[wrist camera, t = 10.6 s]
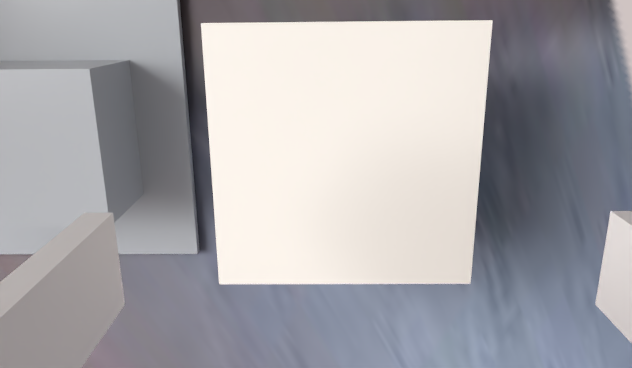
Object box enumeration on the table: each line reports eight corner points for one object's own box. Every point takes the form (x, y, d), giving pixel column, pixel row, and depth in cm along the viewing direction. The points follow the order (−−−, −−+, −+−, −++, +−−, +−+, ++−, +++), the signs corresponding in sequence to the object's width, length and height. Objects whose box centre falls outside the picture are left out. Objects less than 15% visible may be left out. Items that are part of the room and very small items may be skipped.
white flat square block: (208, 23, 24) (201, 23, 22) (482, 20, 23) (492, 20, 22) (224, 270, 27) (219, 284, 26) (462, 269, 27) (470, 283, 26)
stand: (-71, -13, 30) (-164, -20, 24) (178, -15, 30) (143, -23, 24) (-16, 250, 35) (-83, 296, 29) (199, 249, 35) (174, 296, 29)
